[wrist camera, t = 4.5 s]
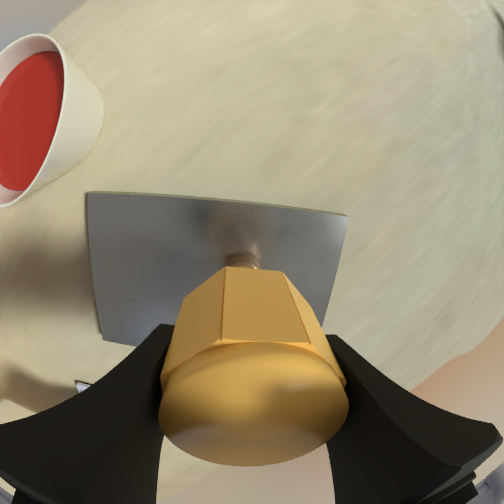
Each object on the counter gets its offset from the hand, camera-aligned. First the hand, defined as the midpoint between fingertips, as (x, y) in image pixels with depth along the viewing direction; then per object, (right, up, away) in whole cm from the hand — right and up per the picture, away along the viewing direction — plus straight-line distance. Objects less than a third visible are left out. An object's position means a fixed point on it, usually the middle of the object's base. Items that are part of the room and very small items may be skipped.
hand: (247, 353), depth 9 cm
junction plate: (-3, +2, +8) cm, 9 cm away
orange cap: (0, +1, +1) cm, 2 cm away
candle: (-12, +12, +4) cm, 18 cm away
